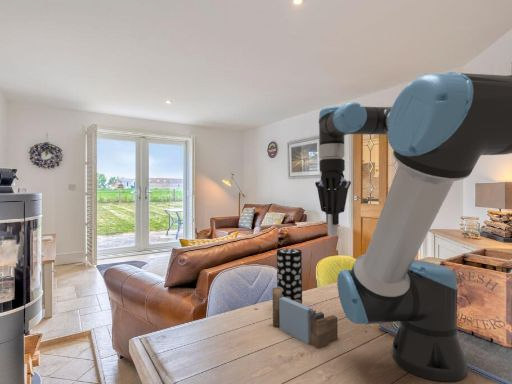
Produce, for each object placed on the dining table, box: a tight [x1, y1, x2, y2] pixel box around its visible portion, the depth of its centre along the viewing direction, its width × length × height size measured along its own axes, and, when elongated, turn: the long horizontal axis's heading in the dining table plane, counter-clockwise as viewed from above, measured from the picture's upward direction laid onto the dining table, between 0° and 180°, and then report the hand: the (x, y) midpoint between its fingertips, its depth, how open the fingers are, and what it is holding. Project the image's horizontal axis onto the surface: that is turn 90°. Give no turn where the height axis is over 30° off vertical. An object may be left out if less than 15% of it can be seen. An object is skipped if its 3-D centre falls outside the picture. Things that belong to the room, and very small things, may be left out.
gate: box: [279, 297, 317, 345], centre depth 83 cm, size 12×2×9 cm, turn 38°
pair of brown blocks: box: [272, 287, 339, 349], centre depth 85 cm, size 17×10×11 cm, turn 31°
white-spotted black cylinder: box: [276, 248, 303, 304], centre depth 101 cm, size 8×8×20 cm
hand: (332, 235), depth 93 cm, fingers closed
